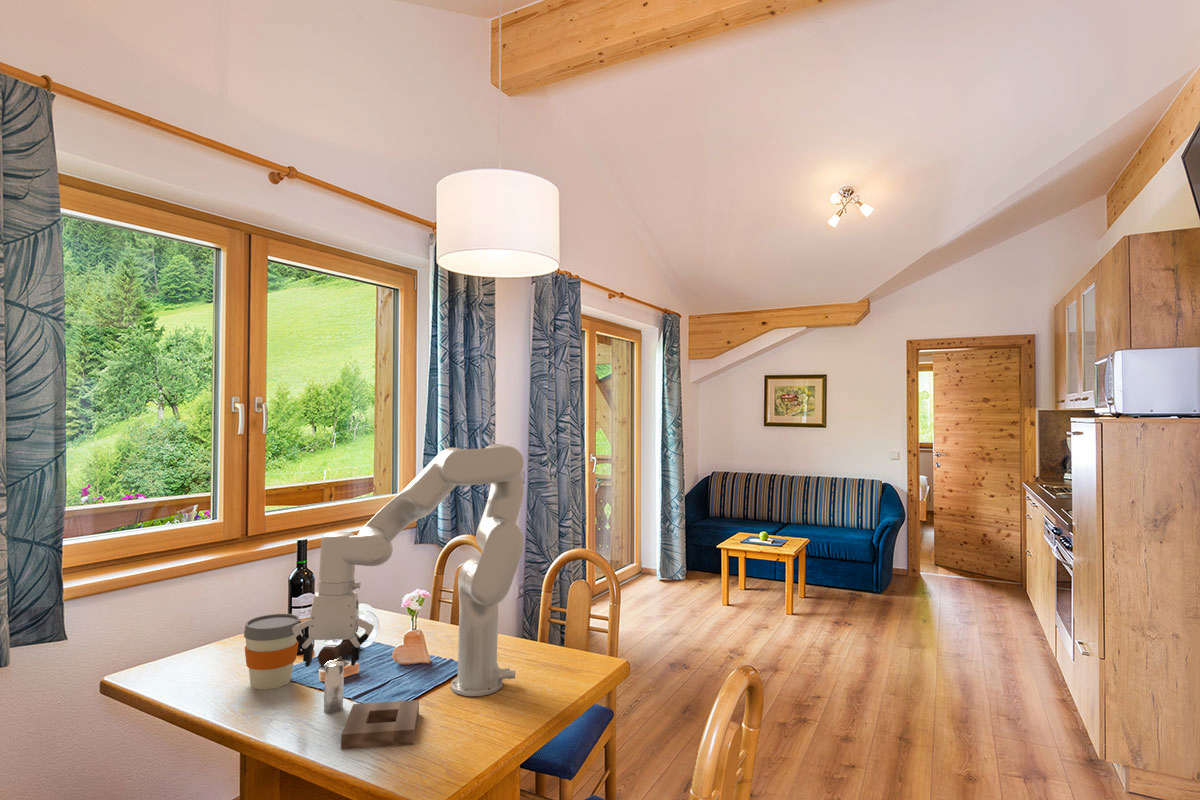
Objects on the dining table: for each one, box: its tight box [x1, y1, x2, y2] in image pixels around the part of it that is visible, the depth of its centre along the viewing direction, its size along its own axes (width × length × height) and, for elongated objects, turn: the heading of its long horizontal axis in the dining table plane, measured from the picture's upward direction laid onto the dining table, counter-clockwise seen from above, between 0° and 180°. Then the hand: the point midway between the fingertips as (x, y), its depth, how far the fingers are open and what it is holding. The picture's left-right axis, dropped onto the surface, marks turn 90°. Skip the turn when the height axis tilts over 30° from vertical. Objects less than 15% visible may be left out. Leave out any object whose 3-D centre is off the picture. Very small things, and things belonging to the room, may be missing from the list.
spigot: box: [323, 660, 345, 714], centre depth 149 cm, size 4×4×10 cm
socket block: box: [340, 699, 420, 751], centre depth 139 cm, size 14×14×3 cm
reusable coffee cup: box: [243, 613, 301, 691], centre depth 163 cm, size 13×13×15 cm
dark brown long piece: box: [317, 639, 354, 667], centre depth 181 cm, size 6×5×15 cm
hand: (331, 663), depth 149 cm, fingers open, 9 cm apart
